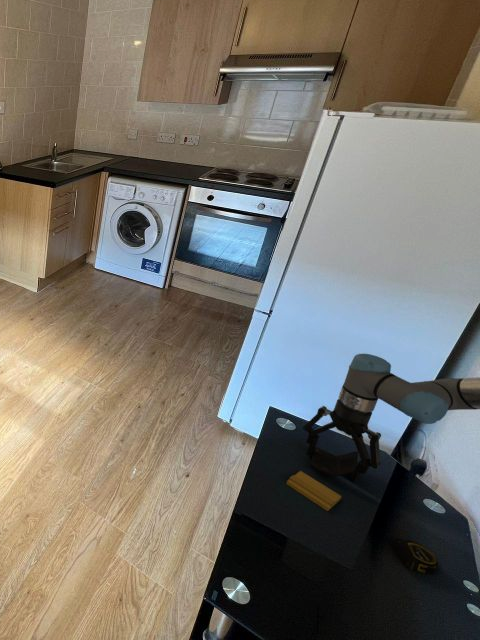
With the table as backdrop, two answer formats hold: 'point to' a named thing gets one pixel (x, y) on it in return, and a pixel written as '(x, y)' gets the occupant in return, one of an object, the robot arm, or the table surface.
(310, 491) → the block
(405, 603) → the table surface
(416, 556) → the tape measure
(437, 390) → the robot arm
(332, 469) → the dark brown faceted prism
